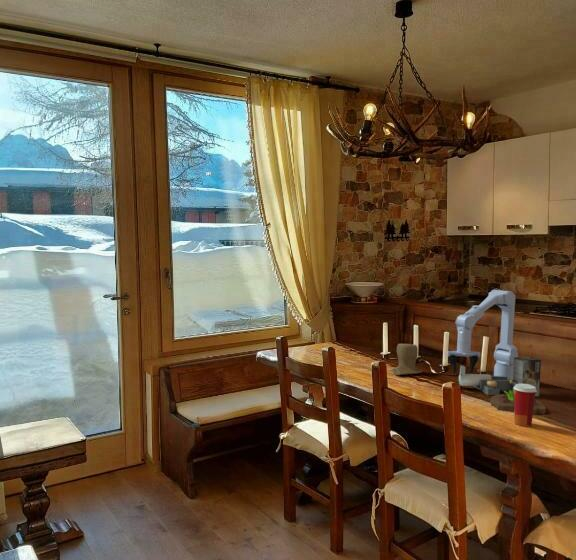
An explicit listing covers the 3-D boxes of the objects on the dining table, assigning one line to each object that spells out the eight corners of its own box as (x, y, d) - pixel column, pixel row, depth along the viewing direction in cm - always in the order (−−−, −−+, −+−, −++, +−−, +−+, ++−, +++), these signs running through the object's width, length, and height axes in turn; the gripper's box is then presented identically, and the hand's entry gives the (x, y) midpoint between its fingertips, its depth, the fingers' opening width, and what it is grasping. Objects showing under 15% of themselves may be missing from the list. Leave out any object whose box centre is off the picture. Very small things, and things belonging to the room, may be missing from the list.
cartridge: (458, 384, 253) (459, 365, 252) (486, 384, 254) (487, 365, 253) (462, 386, 248) (463, 367, 247) (491, 387, 248) (492, 368, 248)
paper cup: (528, 421, 206) (530, 383, 205) (538, 428, 198) (541, 388, 197) (507, 420, 206) (509, 382, 205) (516, 427, 198) (519, 388, 197)
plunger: (484, 390, 244) (485, 380, 244) (494, 391, 244) (494, 380, 244) (488, 393, 240) (489, 382, 240) (497, 393, 240) (498, 383, 240)
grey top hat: (409, 370, 284) (411, 340, 283) (425, 375, 274) (426, 344, 273) (384, 372, 278) (386, 342, 277) (399, 377, 267) (401, 346, 266)
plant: (486, 398, 236) (488, 372, 235) (535, 402, 233) (537, 376, 232) (494, 412, 217) (496, 383, 216) (549, 417, 213) (551, 388, 212)
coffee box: (529, 392, 247) (531, 356, 246) (539, 396, 241) (542, 359, 240) (511, 393, 245) (513, 357, 244) (521, 397, 239) (523, 360, 238)
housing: (473, 386, 255) (473, 375, 255) (507, 387, 256) (508, 376, 256) (486, 395, 240) (487, 383, 240) (523, 396, 241) (524, 384, 240)
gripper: (450, 343, 245) (449, 374, 246) (483, 344, 245) (481, 374, 246) (445, 340, 252) (444, 370, 253) (477, 341, 252) (475, 371, 253)
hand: (462, 372), depth 250 cm, fingers open, 7 cm apart
